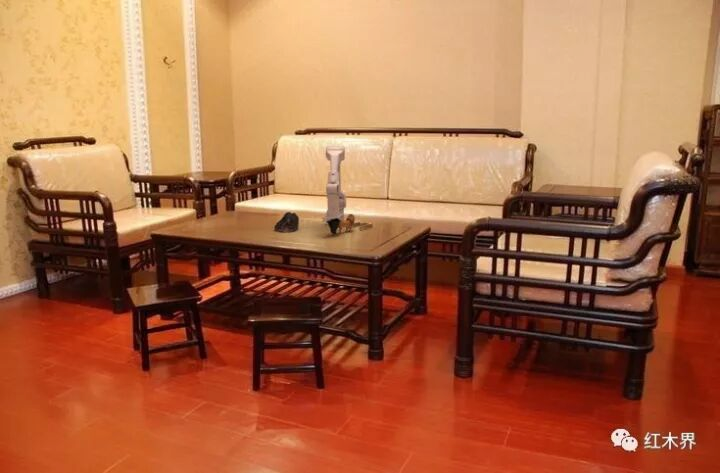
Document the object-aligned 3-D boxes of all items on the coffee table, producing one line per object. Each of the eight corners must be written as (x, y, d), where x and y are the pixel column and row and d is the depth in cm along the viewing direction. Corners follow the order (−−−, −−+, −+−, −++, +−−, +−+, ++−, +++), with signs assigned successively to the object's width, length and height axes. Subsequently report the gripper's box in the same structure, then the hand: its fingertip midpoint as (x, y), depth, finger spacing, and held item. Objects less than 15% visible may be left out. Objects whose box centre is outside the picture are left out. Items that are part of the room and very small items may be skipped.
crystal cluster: (275, 234, 301) (276, 216, 298) (272, 227, 313) (273, 209, 310) (301, 235, 304) (302, 216, 302) (296, 227, 317) (297, 209, 314)
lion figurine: (349, 229, 308) (349, 212, 306) (357, 230, 305) (357, 214, 303) (330, 234, 298) (330, 217, 296) (337, 235, 294) (337, 218, 292)
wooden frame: (347, 228, 311) (347, 224, 310) (359, 225, 318) (359, 221, 318) (361, 230, 305) (361, 226, 305) (372, 227, 313) (372, 223, 312)
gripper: (329, 210, 284) (330, 237, 287) (348, 205, 295) (348, 231, 298) (319, 208, 288) (319, 235, 291) (337, 204, 299) (338, 230, 302)
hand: (333, 233), depth 295 cm, fingers closed
